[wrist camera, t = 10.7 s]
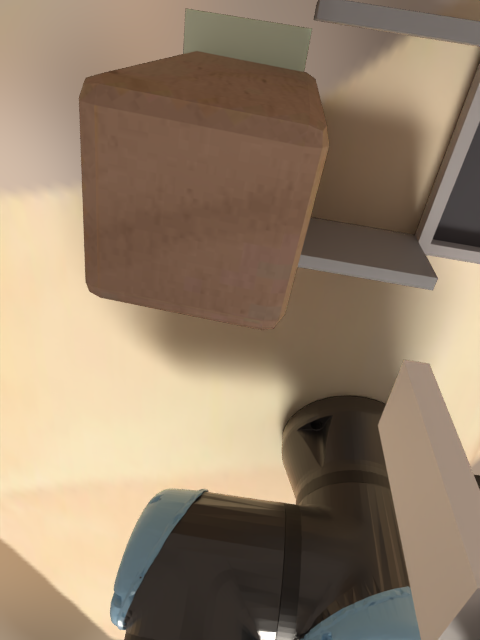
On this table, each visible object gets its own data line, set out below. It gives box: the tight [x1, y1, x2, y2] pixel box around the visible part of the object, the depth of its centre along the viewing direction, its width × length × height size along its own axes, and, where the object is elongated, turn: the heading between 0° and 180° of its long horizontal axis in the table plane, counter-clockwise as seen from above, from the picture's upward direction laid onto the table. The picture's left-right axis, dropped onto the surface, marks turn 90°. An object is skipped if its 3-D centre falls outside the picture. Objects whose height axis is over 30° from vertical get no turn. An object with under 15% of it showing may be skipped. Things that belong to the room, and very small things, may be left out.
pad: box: [183, 9, 312, 72], centre depth 35 cm, size 13×9×1 cm
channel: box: [298, 0, 480, 290], centre depth 32 cm, size 16×12×8 cm
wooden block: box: [79, 51, 329, 330], centre depth 27 cm, size 10×10×20 cm
